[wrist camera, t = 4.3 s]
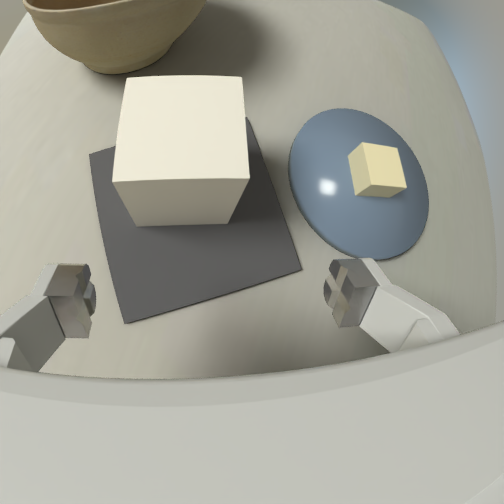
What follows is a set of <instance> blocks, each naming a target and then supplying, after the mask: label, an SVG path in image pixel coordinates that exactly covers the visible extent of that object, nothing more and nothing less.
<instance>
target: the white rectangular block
mask: <svg viewBox="0 0 504 504" xmlns="http://www.w3.org/2000/svg"><path fill="white" fill-rule="evenodd" d="M249 179H250V175H249V162H248V149H247V136H246V123H245V110H244V97H243V85H242V77H233V76H205V75H175V76H148V77H132V78H127V80H126V85H125V90H124V95H123V101H122V107H121V113H120V119H119V126H118V133H117V141H116V149H115V157H114V167H113V178H112V183H113V185H114V186H115V188H116V190H117V192H118V194H119V196H120V198H121V199H122V201H123V203H124V205H125V207H126V208H127V210H128V212H129V214H130V216H131V217H132V219H133V221H134V223H135V224H136V226H137V227H141V226H168V225H200V224H228V222H229V220H230V218H231V216H232V214H233V211H234V209H235V207H236V205H237V203H238V201H239V199H240V197H241V195H242V193H243V191H244V189H245V187H246V185H247V183H248V181H249Z"/></svg>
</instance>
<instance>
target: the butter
mask: <svg viewBox="0 0 504 504" xmlns="http://www.w3.org/2000/svg"><path fill="white" fill-rule="evenodd" d="M348 159H349V164H350V170H351V175H352V180H353V186H354V191H355V196H372V197H387V198H390V197H392V196H394V195H395V194H397V193H399V192H400V191H402V190H404V189H406V188H407V186H406V182H405V177H404V173H403V169H402V165H401V161H400V157H399V153H398V149H397V148H395V147H389V146H383V145H377V144H371V143H364V142H362V143H361V144H360V145H359V146H358V147H356V148H355V149H354V150H353V151H352V152H351V153H350V154H349V155H348Z"/></svg>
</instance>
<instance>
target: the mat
mask: <svg viewBox="0 0 504 504" xmlns="http://www.w3.org/2000/svg"><path fill="white" fill-rule="evenodd" d="M245 123H246V136H247V149H248V162H249V175H250V179H249V181H248V183H247V185H246V187H245V189H244V191H243V193H242V195H241V197H240V199H239V201H238V203H237V205H236V207H235V209H234V211H233V214H232V216H231V218H230V220H229V222H228V224H200V225H168V226H141V227H137V226H136V224H135V223H134V221H133V219H132V217H131V216H130V214H129V212H128V210H127V208H126V207H125V205H124V203H123V201H122V199H121V198H120V196H119V194H118V192H117V190H116V188H115V186H114V185H113V183H112V178H113V167H114V157H115V149H116V146H114V147H111V148H108V149H104V150H101V151H98V152H95V153H92V154H89V157H90V166H91V173H92V181H93V187H94V194H95V200H96V206H97V212H98V217H99V223H100V228H101V233H102V238H103V242H104V247H105V252H106V256H107V260H108V265H109V269H110V273H111V277H112V281H113V285H114V289H115V292H116V296H117V300H118V303H119V307H120V310H121V314H122V317H123V320H124V324H126V323H129V322H133V321H136V320H140V319H143V318H147V317H150V316H154V315H157V314H160V313H164V312H167V311H171V310H174V309H177V308H181V307H184V306H187V305H191V304H194V303H197V302H201V301H204V300H207V299H210V298H214V297H217V296H220V295H223V294H227V293H230V292H233V291H236V290H239V289H243V288H246V287H249V286H252V285H255V284H258V283H262V282H265V281H268V280H271V279H274V278H277V277H280V276H283V275H286V274H289V273H292V272H295V271H298V270H301V266H300V263H299V260H298V257H297V254H296V251H295V248H294V246H293V243H292V240H291V237H290V234H289V231H288V228H287V225H286V222H285V219H284V216H283V213H282V211H281V208H280V205H279V202H278V199H277V196H276V194H275V191H274V188H273V185H272V182H271V180H270V177H269V174H268V171H267V169H266V166H265V163H264V161H263V158H262V155H261V152H260V150H259V147H258V144H257V142H256V139H255V137H254V134H253V131H252V129H251V126H250V123H249V121H248V118H247V117H245Z"/></svg>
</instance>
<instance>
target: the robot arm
mask: <svg viewBox="0 0 504 504" xmlns="http://www.w3.org/2000/svg"><path fill="white" fill-rule="evenodd" d="M329 270H330V272H331V275H330V276H329V277H328V278H327V279H326V280H325V284H324V297H325V301H326V303H327V305H328V306H330V307H331V308H333V312H332V315H333V317H334V319H335V321H336V323H337V325H338V327H349V326H358V325H360V326H359V327H361V328H362V329H363V330H364V331H365V332H367V333H368V334H369V335H370V336H371V337H373V338H374V339H375V340H376V341H377V342H379V343H380V344H381V345H382V346H383V347H384V348H386V349H387V350H388V351H389V352H390V353H389V354H384V355H380V356H375V357H370V358H365V359H360V360H355V361H349V362H344V363H338V364H332V365H325V366H319V367H312V368H305V369H298V370H290V371H282V372H273V373H263V374H253V375H241V376H228V377H211V378H187V379H121V378H99V377H83V376H70V375H59V374H50V373H41V372H38V371H39V370H40V369H41V368H42V367H43V365H44V364H45V363H46V362H47V360H48V359H49V358H50V357H51V356H52V354H53V353H54V352H55V351H56V350H57V349H58V347H59V346H60V345H61V344H62V343H63V342H64V340H65V338H88V337H89V333H90V329H91V325H92V322H91V319H90V316H91V315H92V314H94V312H95V308H96V292H95V288H94V285H93V284H92V283H91V282H90V281H89V279H90V276H91V272H90V269H89V266H88V265H87V264H63V263H60V264H59V263H48V264H46V265H45V266H44V268H43V270H42V272H41V274H40V276H39V278H38V280H37V282H36V284H35V286H34V288H33V290H32V292H31V294H30V296H28V295H26V296H25V297H24V298H22V299H21V300H20V301H18V302H17V303H16V304H14V305H13V306H12V307H11V308H9V309H8V310H7V311H5V312H4V313H3V314H2V315H0V504H504V321H501V322H498V323H495V324H492V325H490V326H487V327H484V328H481V329H478V330H474V331H471V332H468V333H465V334H462V335H460V333H459V332H458V331H457V329H456V328H455V326H454V325H453V324H452V322H451V321H450V319H449V318H448V317H447V315H446V314H445V313H443V312H441V311H440V310H438V309H436V308H435V307H433V306H431V305H430V304H428V303H426V302H425V301H423V300H421V299H419V298H418V297H416V296H414V295H413V294H411V293H409V292H407V291H406V290H404V289H402V288H401V287H399V286H397V285H392V284H391V282H390V281H389V279H388V278H387V277H386V275H385V274H384V273H383V271H382V270H381V269H380V267H379V266H378V265H377V263H376V262H375V261H374V260H373V259H372V258H358V259H338V260H333V261H332V262H331V264H330V267H329Z"/></svg>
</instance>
